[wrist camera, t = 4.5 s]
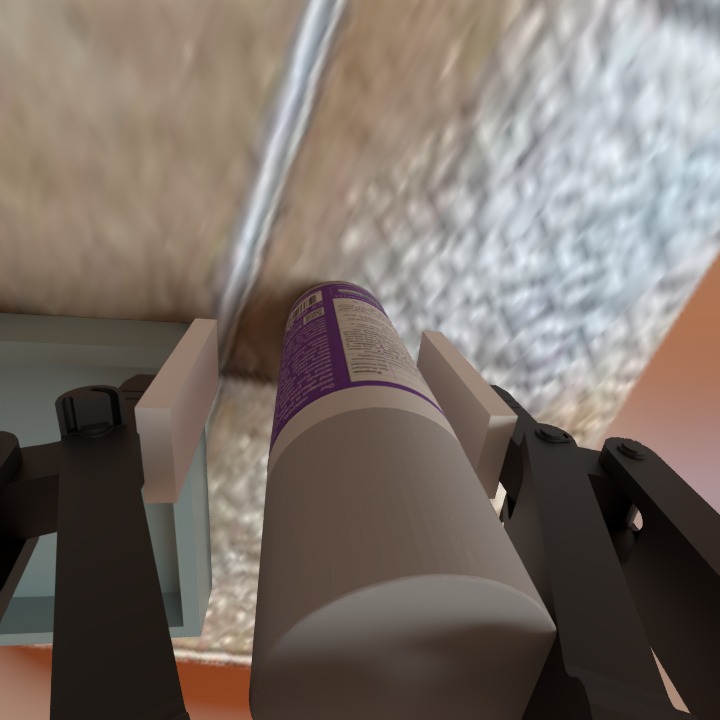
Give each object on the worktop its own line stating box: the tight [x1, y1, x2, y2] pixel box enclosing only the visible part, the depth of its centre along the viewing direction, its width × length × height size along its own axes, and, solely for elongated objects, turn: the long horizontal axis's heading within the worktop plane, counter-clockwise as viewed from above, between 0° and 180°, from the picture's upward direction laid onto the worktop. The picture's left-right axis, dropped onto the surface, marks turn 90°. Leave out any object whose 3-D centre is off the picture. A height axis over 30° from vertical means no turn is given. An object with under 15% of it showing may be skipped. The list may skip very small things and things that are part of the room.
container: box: [249, 281, 557, 720], centre depth 13 cm, size 5×5×15 cm
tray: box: [0, 313, 212, 646], centre depth 20 cm, size 16×12×3 cm
